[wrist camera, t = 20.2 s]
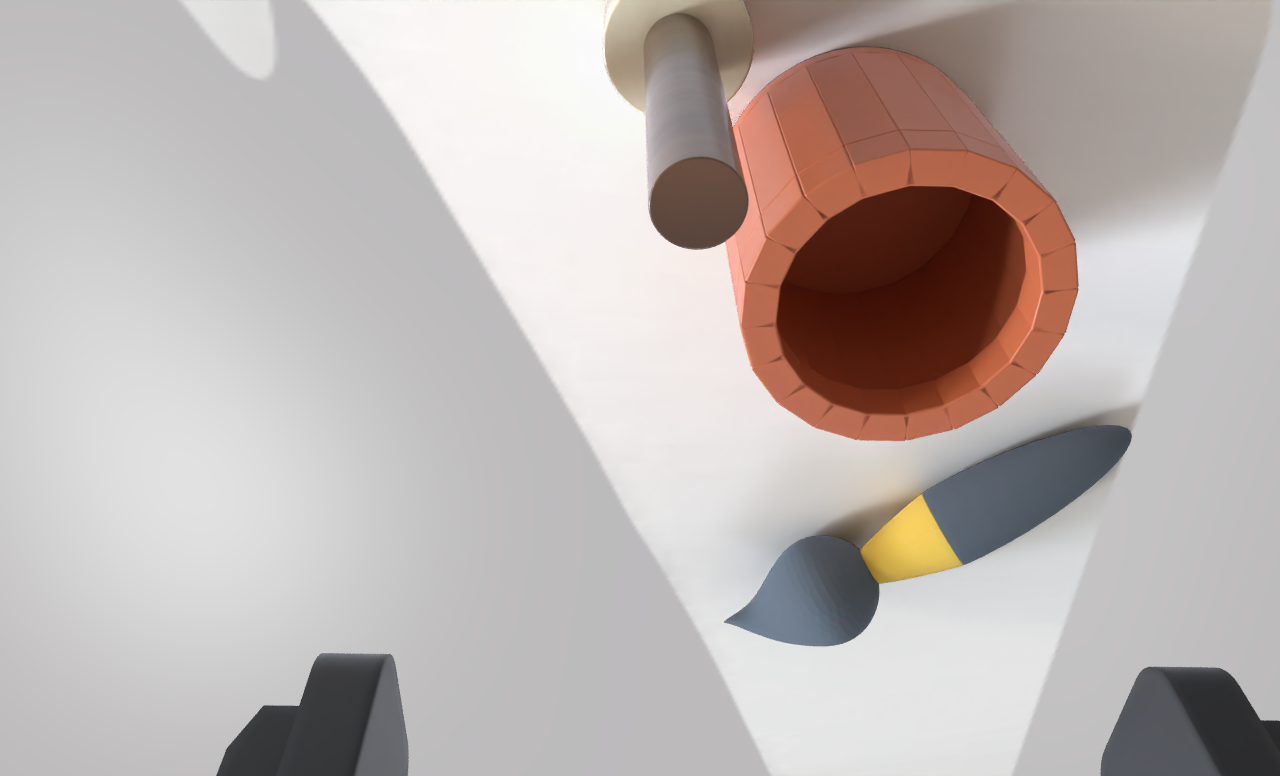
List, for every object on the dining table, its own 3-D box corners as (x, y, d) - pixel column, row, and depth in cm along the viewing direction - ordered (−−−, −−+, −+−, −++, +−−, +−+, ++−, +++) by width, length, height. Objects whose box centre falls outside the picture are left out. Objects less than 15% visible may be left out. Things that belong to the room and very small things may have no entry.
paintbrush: (1083, 358, 44) (1131, 429, 40) (1130, 432, 46) (1179, 506, 42) (707, 567, 50) (713, 645, 46) (763, 622, 53) (774, 702, 49)
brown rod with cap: (605, -60, 34) (588, 93, 21) (748, -56, 34) (821, 99, 21) (604, 83, 37) (589, 299, 24) (737, 86, 37) (795, 302, 24)
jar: (728, 42, 36) (756, 145, 28) (1009, 49, 36) (1120, 153, 28) (710, 291, 42) (729, 438, 33) (953, 296, 42) (1033, 443, 34)
